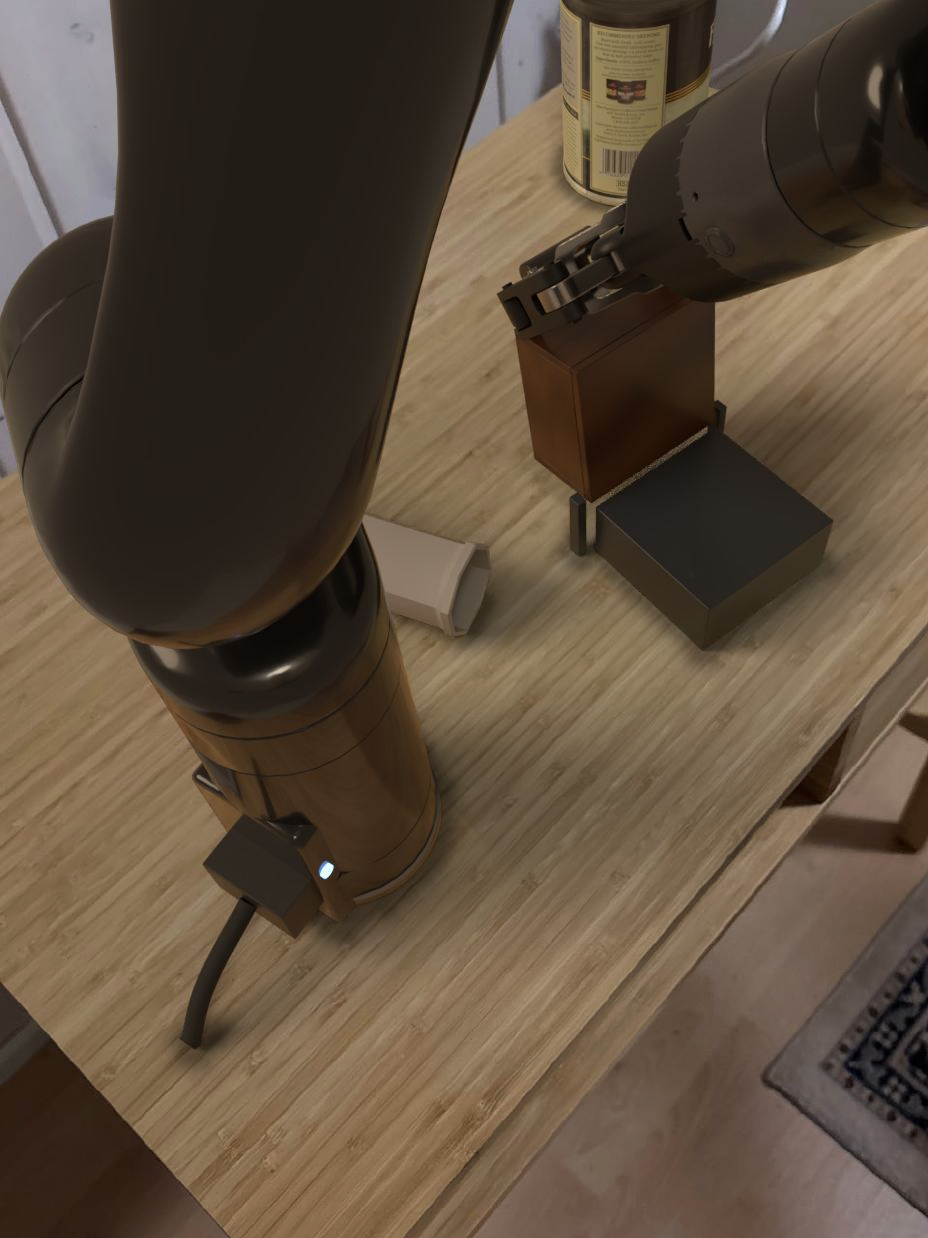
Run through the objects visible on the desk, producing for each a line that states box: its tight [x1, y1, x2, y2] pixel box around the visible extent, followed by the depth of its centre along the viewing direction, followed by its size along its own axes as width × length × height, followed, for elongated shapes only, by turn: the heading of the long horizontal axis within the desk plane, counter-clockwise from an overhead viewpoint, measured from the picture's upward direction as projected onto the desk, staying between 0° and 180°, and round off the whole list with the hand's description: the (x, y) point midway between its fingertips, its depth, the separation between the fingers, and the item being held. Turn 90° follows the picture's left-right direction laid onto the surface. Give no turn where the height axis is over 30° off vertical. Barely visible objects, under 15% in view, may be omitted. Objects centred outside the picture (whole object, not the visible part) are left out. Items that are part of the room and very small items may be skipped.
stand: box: [568, 399, 834, 651], centre depth 62 cm, size 10×11×5 cm
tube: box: [362, 512, 492, 637], centre depth 65 cm, size 5×5×25 cm
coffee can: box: [559, 0, 718, 207], centre depth 78 cm, size 10×10×14 cm
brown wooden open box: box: [513, 225, 716, 505], centre depth 61 cm, size 11×9×7 cm
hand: (573, 273), depth 59 cm, fingers open, 7 cm apart
